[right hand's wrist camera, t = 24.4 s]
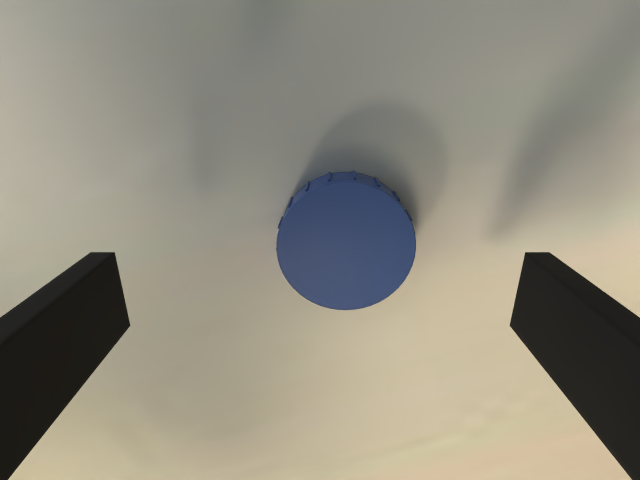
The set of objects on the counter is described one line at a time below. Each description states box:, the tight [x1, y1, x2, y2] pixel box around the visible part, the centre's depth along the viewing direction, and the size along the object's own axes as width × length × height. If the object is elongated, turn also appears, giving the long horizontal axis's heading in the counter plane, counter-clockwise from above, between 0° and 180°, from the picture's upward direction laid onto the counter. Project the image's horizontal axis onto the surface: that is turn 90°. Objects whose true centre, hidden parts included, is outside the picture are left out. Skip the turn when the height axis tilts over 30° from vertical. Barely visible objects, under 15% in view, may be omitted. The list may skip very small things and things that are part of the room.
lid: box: [276, 171, 416, 310], centre depth 17 cm, size 6×6×2 cm
